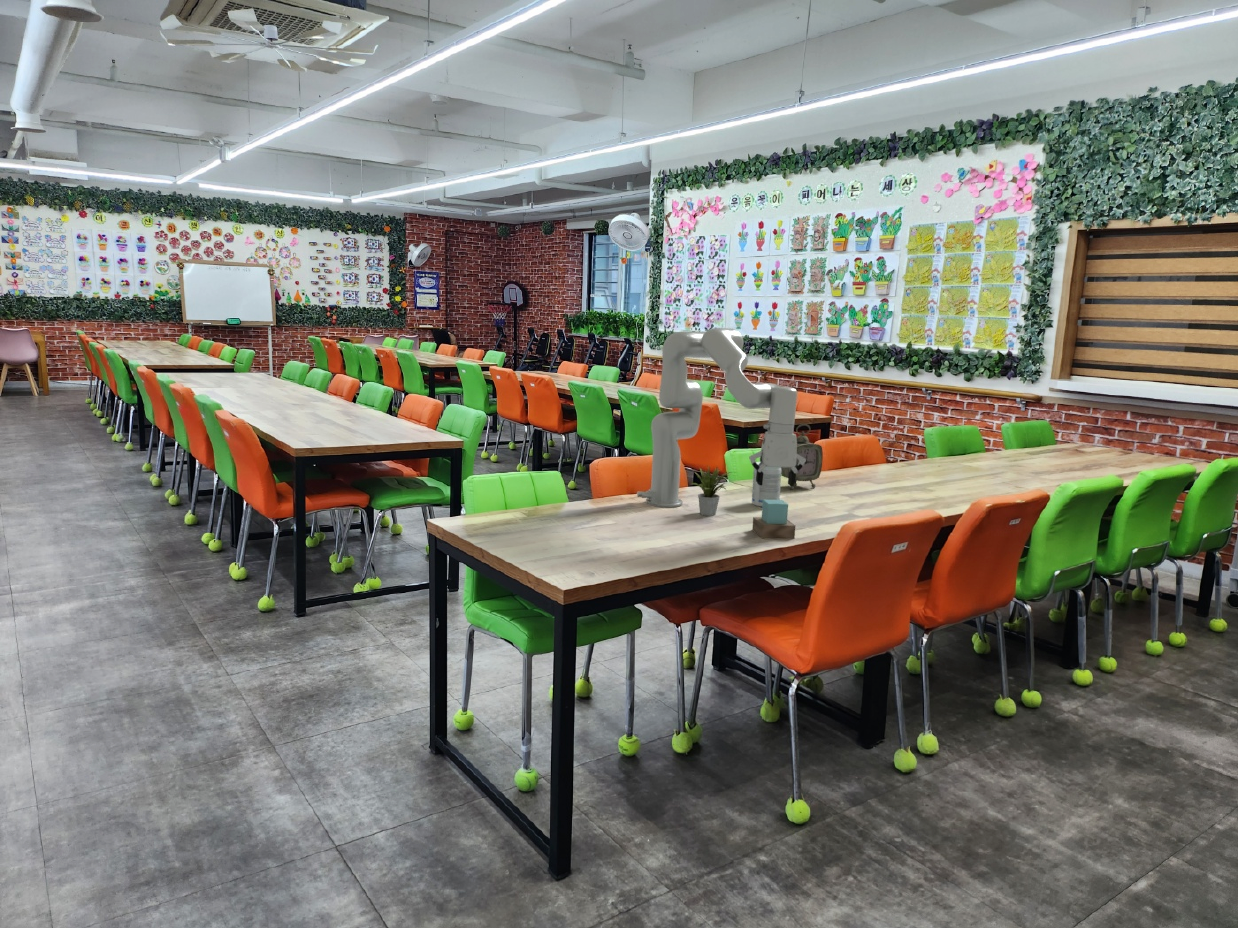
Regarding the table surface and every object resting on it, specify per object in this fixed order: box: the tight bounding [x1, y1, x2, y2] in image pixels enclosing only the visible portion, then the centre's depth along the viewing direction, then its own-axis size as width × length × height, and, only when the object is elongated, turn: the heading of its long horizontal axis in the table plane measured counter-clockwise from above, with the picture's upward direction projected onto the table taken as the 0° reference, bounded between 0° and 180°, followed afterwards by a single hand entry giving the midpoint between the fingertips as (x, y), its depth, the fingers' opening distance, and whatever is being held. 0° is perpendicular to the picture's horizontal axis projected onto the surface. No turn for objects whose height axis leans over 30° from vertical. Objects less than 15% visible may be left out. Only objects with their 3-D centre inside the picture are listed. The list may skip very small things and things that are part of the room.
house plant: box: [690, 465, 733, 517], centre depth 276 cm, size 14×14×16 cm
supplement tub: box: [751, 461, 782, 508], centre depth 295 cm, size 10×10×15 cm
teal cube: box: [761, 499, 789, 524], centre depth 255 cm, size 6×6×6 cm
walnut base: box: [751, 516, 796, 539], centre depth 256 cm, size 10×10×4 cm
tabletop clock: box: [781, 423, 824, 490], centre depth 328 cm, size 14×9×25 cm, turn 119°
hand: (775, 484), depth 254 cm, fingers open, 9 cm apart
